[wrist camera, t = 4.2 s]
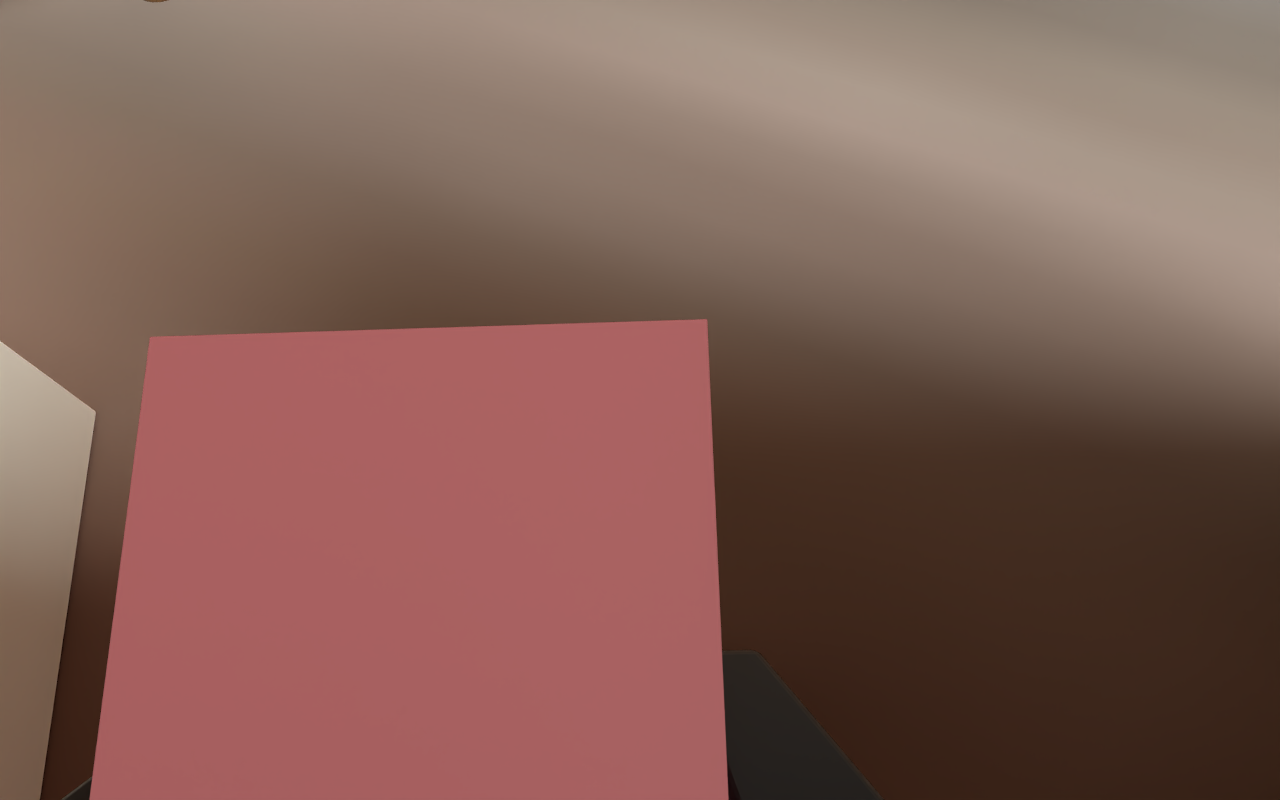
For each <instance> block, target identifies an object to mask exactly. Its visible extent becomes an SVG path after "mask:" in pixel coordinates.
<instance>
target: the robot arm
mask: <svg viewBox="0 0 1280 800" xmlns="http://www.w3.org/2000/svg"><path fill="white" fill-rule="evenodd" d="M722 665H723V687H724V710H725V732H726V755H727V777H728V800H884V799H883V798H882V796H881V795H880V794H879V793H878V792H877V791H876V789H875V788H874V787H873V786H872V785H871V784H870V782H869V781H868V780H867V779H866V778H865V776H864V775H863V774H862V773H861V772H860V771H859V769H858V768H857V767H856V766H855V765H854V763H853V762H852V761H851V760H850V759H849V758H848V756H847V755H846V754H845V753H844V752H843V751H842V749H841V748H840V747H839V746H838V745H837V743H836V742H835V741H834V740H833V739H832V738H831V736H830V735H829V734H828V733H827V732H826V730H825V729H824V728H823V727H822V726H821V725H820V723H819V722H818V721H817V720H816V719H815V718H814V716H813V715H812V714H811V713H810V712H809V710H808V709H807V708H806V707H805V706H804V705H803V703H802V702H801V701H800V700H799V699H798V697H797V696H796V695H795V694H794V693H793V692H792V690H791V689H790V688H789V687H788V686H787V685H786V683H785V682H784V681H783V680H782V679H781V677H780V676H779V675H778V674H777V673H776V672H775V670H774V669H773V668H772V667H771V666H770V664H769V663H768V662H767V661H766V660H765V659H764V657H763V656H762V655H761V654H760V653H758V652H756V651H755V650H726V651H722ZM91 784H92V777H90V778H89V779H88V780H86V781H85V782H84V783H82V784H81V785H80V786H78V787H77V788H76V789H74V790H73V791H72V792H70V793H69V794H68V795H66V796H65V797H64V798H62V799H61V800H89V799H90V792H91Z"/></svg>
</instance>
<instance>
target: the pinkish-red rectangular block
mask: <svg viewBox="0 0 1280 800" xmlns="http://www.w3.org/2000/svg"><path fill="white" fill-rule="evenodd" d="M89 800H728V777H727V755H726V732H725V710H724V687H723V665H722V642H721V620H720V597H719V575H718V552H717V530H716V507H715V485H714V462H713V440H712V417H711V395H710V372H709V350H708V327H707V319H697V320H665V321H634V322H602V323H571V324H539V325H508V326H476V327H445V328H414V329H382V330H351V331H319V332H288V333H256V334H225V335H193V336H162V337H150V341H149V348H148V356H147V364H146V371H145V379H144V387H143V394H142V402H141V409H140V417H139V425H138V432H137V440H136V448H135V455H134V463H133V471H132V478H131V486H130V494H129V501H128V509H127V516H126V524H125V532H124V539H123V547H122V555H121V562H120V570H119V578H118V585H117V593H116V601H115V608H114V616H113V623H112V631H111V639H110V646H109V654H108V662H107V669H106V677H105V685H104V692H103V700H102V708H101V715H100V723H99V730H98V738H97V746H96V753H95V761H94V769H93V776H92V784H91V792H90V799H89Z"/></svg>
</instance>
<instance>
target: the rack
mask: <svg viewBox="0 0 1280 800" xmlns="http://www.w3.org/2000/svg"><path fill="white" fill-rule="evenodd" d="M95 415H96V411H94V410H93V409H92V408H90V407H89V406H88V405H86V404H85V403H83V402H82V401H81V400H79V399H78V398H77V397H75V396H74V395H73V394H71V393H70V392H69V391H67V390H66V389H64V388H63V387H62V386H60V385H59V384H58V383H56V382H55V381H54V380H52V379H51V378H50V377H48V376H47V375H45V374H44V373H43V372H41V371H40V370H39V369H37V368H36V367H35V366H33V365H32V364H31V363H29V362H28V361H26V360H25V359H24V358H22V357H21V356H20V355H18V354H17V353H16V352H14V351H13V350H11V349H10V348H9V347H7V346H6V345H5V344H3V343H2V342H1V341H0V800H40V795H41V788H42V781H43V774H44V767H45V761H46V754H47V747H48V740H49V733H50V726H51V719H52V712H53V705H54V698H55V691H56V685H57V678H58V671H59V664H60V657H61V650H62V643H63V636H64V629H65V622H66V615H67V609H68V602H69V595H70V588H71V581H72V574H73V567H74V560H75V553H76V546H77V539H78V533H79V526H80V519H81V512H82V505H83V498H84V491H85V484H86V477H87V470H88V463H89V456H90V450H91V443H92V436H93V429H94V422H95Z"/></svg>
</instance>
